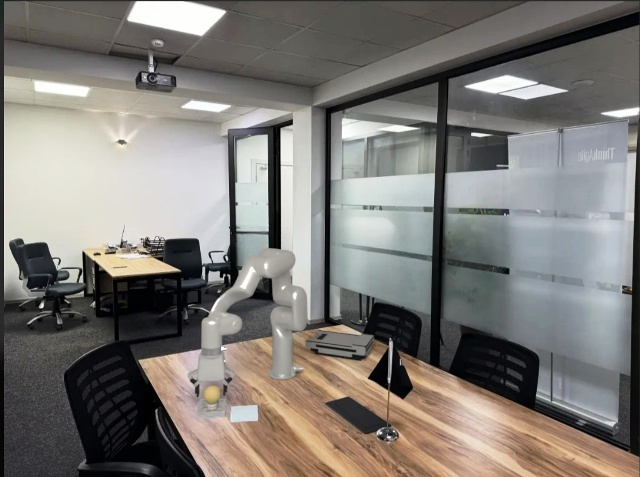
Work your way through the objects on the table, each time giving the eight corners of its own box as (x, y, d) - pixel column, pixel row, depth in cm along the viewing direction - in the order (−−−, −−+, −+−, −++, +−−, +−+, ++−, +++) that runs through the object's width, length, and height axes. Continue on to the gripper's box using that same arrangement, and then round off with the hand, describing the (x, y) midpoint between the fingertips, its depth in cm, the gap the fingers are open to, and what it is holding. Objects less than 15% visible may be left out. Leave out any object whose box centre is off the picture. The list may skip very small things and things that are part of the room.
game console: (318, 341, 243) (318, 327, 242) (373, 349, 232) (374, 334, 232) (305, 354, 224) (305, 338, 223) (364, 362, 213) (365, 346, 212)
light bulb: (216, 416, 157) (216, 390, 156) (200, 414, 158) (200, 388, 157) (223, 408, 163) (223, 383, 162) (208, 406, 165) (208, 381, 164)
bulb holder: (226, 404, 166) (226, 398, 166) (224, 417, 157) (224, 410, 157) (200, 405, 165) (200, 399, 165) (197, 418, 155) (197, 412, 155)
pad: (257, 407, 165) (257, 404, 165) (258, 420, 155) (258, 418, 155) (231, 409, 163) (231, 406, 163) (230, 422, 153) (230, 419, 153)
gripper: (235, 346, 164) (234, 389, 165) (189, 347, 161) (188, 391, 162) (235, 353, 156) (234, 398, 158) (186, 354, 153) (185, 400, 155)
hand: (211, 394), depth 160 cm, fingers open, 9 cm apart
